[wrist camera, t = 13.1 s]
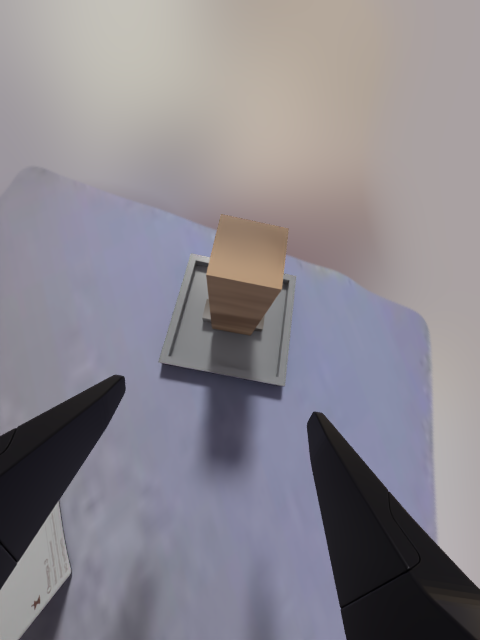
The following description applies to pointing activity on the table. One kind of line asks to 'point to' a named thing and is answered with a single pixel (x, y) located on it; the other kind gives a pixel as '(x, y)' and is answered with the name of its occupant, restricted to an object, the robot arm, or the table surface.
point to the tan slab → (244, 274)
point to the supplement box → (34, 578)
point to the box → (227, 334)
